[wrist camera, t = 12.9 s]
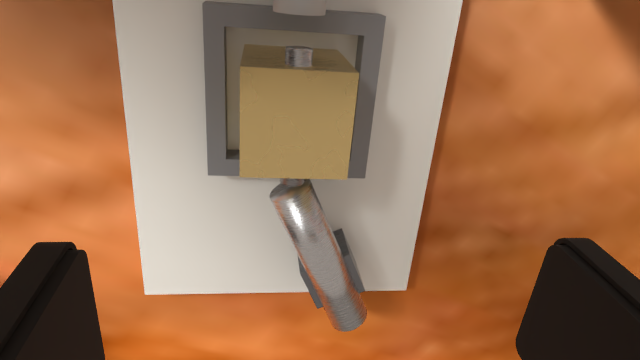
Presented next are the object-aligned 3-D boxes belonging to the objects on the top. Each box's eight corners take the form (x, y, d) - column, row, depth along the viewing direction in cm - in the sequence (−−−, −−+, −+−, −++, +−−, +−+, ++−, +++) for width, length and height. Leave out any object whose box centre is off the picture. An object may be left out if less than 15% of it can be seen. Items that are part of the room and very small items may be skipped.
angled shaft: (262, 176, 27) (262, 210, 23) (311, 156, 27) (319, 187, 23) (320, 294, 32) (328, 339, 28) (362, 278, 31) (376, 320, 28)
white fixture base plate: (94, -261, 19) (33, -344, 14) (489, -203, 22) (560, -256, 17) (150, 280, 31) (128, 342, 26) (400, 277, 34) (425, 333, 28)
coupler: (244, 30, 23) (239, 49, 18) (338, 36, 24) (361, 56, 19) (243, 144, 26) (239, 191, 21) (328, 147, 27) (345, 192, 21)
